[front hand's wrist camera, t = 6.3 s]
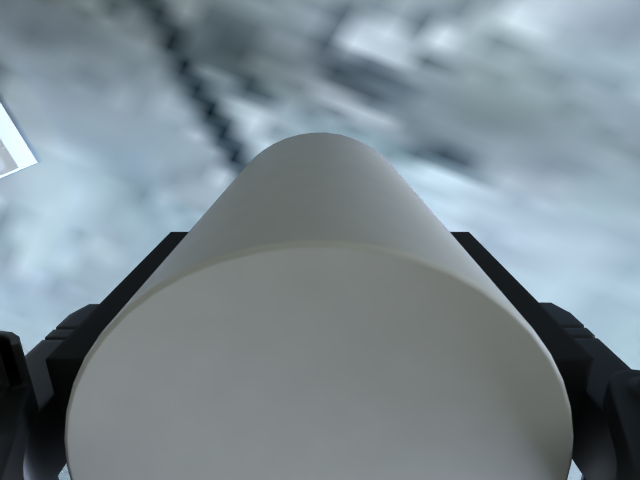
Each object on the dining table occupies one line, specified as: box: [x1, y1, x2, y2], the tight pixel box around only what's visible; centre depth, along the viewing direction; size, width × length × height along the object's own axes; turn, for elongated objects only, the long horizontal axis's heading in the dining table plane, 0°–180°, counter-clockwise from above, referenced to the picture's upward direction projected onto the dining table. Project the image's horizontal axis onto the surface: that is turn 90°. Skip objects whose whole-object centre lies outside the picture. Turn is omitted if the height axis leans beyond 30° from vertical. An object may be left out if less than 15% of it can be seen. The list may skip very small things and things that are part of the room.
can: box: [64, 133, 574, 480], centre depth 12 cm, size 8×8×12 cm
